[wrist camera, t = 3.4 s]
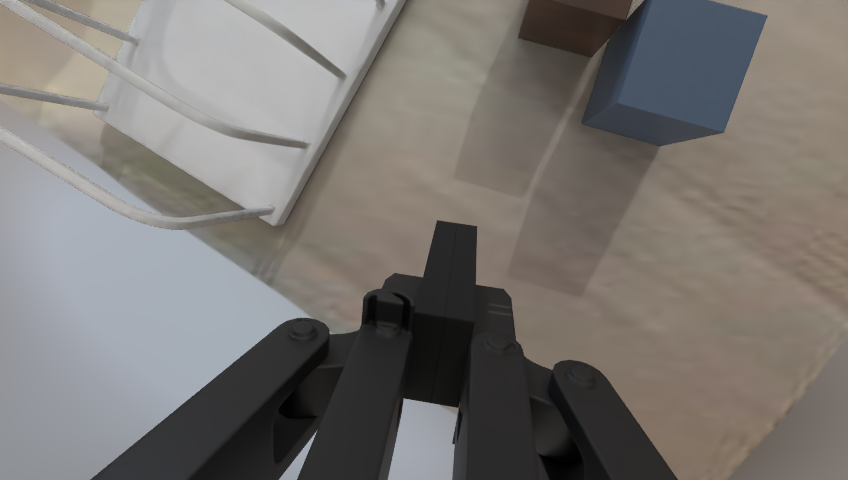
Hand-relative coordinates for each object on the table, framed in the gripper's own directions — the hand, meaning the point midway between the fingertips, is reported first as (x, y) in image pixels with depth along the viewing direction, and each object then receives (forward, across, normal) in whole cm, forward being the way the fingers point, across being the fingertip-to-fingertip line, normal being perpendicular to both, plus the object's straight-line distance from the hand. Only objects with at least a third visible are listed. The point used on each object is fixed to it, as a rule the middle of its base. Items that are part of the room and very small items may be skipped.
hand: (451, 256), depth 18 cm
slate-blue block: (+21, +12, +6) cm, 25 cm away
